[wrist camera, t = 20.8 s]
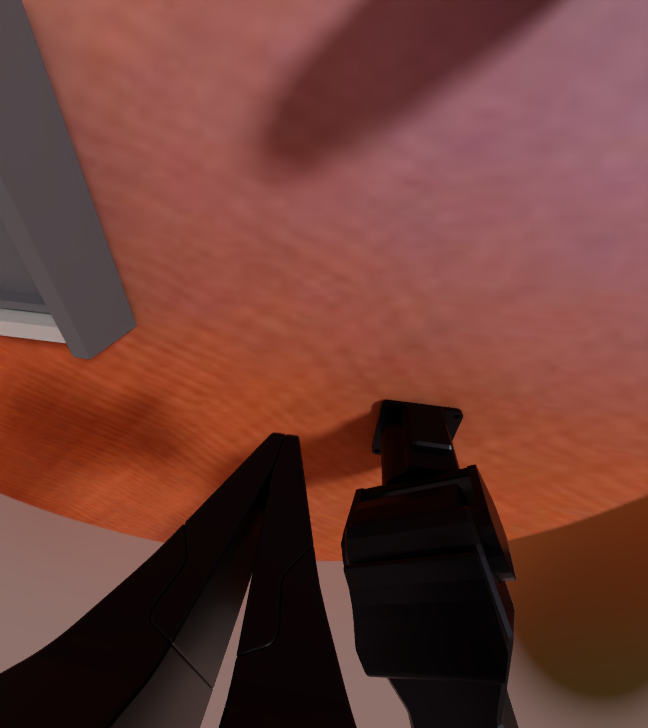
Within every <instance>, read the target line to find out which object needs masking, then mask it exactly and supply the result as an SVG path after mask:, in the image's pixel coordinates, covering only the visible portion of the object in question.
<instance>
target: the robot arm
mask: <svg viewBox="0 0 648 728" xmlns="http://www.w3.org/2000/svg"><path fill="white" fill-rule="evenodd" d="M386 405H389V406H388V407H387V406H386ZM455 414H458V415H455ZM462 418H463V414H462V411H461V410H460V409H456V408H449V407H441V406H433V405H425V404H417V403H410V402H402V401H394V400H384V401H383V402H382V404H381V408H380V413H379V417H378V421H377V426H376V430H375V435H374V439H373V444H372V452H373V453H374V454H378V455H381V464H382V486H377V487H372V488H368V489H364V488H361V489H357V490H356V492H355V496H354V499H353V502H352V506H351V509H350V512H349V516H348V519H347V522H346V525H345V529H344V532H343V537H342V541H341V548H342V557H343V564H344V573H345V577H346V580H347V583H348V587H349V591H350V597H351V603H352V610H353V620H354V633H355V647H356V652H357V654H358V657H359V659H360V662H361V664H362V666H363V669H364V671H365V673H366V675H367V676H369V677H385V678H387V679H388V680H389V682H390V684H391V685H392V687H393V689H394V690H395V692H396V693H397V695H398V697H399V698H400V700H401V701H402V703H403V705H404V706H405V708H406V710H407V712H408V715H409V719H410V724H411V728H518V725H517V721H516V718H515V715H514V712H513V708H512V705H511V702H510V699H509V695H508V692H507V682H508V676H509V669H510V662H511V655H512V649H513V639H514V620H515V610H514V605H513V602H512V600H511V597H510V594H509V591H508V588H507V585H506V582H505V581H512V580H516V576H515V572H514V567H513V563H512V558H511V554H510V550H509V546H508V541H507V537H506V534H505V531H504V529H503V526H502V523H501V521H500V518H499V515H498V513H497V510H496V507H495V505H494V502H493V500H492V498H491V496H490V494H489V491H488V489H487V487H486V485H485V483H484V481H483V479H482V477H481V475H480V472H479V470H478V468H477V466H476V464H475V465H470V466H467V468H463V469H460V468H459V465H458V461H457V457H456V454H455V450H454V447H453V443H452V440H453V438H454V436H455V434H456V431H457V429H458V427H459V425H460V423H461V420H462ZM251 576H252V578H251ZM250 579H251V584H250V589H249V594H248V599H247V605H246V609H245V615H244V620H243V625H242V630H241V635H240V640H239V646H238V651H237V658H236V661H235V666H234V671H233V676H232V680H231V685H230V689H229V693H228V698H227V701H226V705H225V708H224V711H223V715H222V718H221V722H220V725H219V728H357V727H356V724H355V721H354V718H353V714H352V711H351V708H350V704H349V700H348V697H347V693H346V689H345V685H344V682H343V678H342V674H341V670H340V667H339V662H338V658H337V654H336V650H335V646H334V642H333V639H332V635H331V631H330V627H329V623H328V619H327V616H326V611H325V607H324V602H323V598H322V594H321V589H320V584H319V578H318V572H317V566H316V559H315V551H314V547H313V537H312V530H311V522H310V515H309V507H308V500H307V492H306V485H305V477H304V470H303V462H302V455H301V447H300V440H299V436H296V435H289V434H287V435H285V434H282V433H272V434H270V435H269V436H268V437H267V439H266V440H265V441H264V442H263V443H262V444H261V445H260V446H259V447H258V448H257V449H256V450H255V451H254V452H253V453H252V454H251V455H250V456H249V457H248V458H247V459H246V460H245V461H244V462H243V463H242V464H241V465H240V466H239V467H238V468H237V469H236V470H235V472H234V473H233V474H232V475H231V476H230V477H229V478H228V479H227V480H226V481H225V482H224V483H223V484H222V485H221V486H220V487H219V488H218V489H217V490H216V491H215V492H214V493H213V494H212V495H211V496H210V497H209V498H208V499H207V500H206V501H205V502H204V503H203V504H202V506H201V507H200V508H199V509H198V510H197V511H196V512H195V513H194V514H193V515H192V516H191V517H190V518H189V519H188V520H187V521H186V522H185V525H182V526H181V527H180V528H179V529H178V530H177V531H176V532H175V533H174V534H173V535H172V536H171V537H170V538H169V539H168V540H167V541H166V542H165V543H164V544H163V545H162V546H161V547H160V548H159V549H158V550H157V551H156V552H155V553H154V554H153V555H152V556H151V557H150V558H149V559H148V560H147V561H145V562H144V563H143V564H142V565H141V566H140V567H139V568H138V569H137V570H136V571H134V572H133V573H132V574H131V575H130V576H129V577H128V578H126V579H125V580H124V581H123V582H122V583H121V584H120V585H118V586H117V587H116V588H115V589H114V590H113V591H112V592H110V593H109V594H108V595H107V596H106V597H105V598H104V599H102V600H101V601H100V602H99V603H98V604H97V605H95V607H93V608H92V609H91V610H90V611H89V612H88V613H86V614H85V615H84V616H83V617H82V618H81V619H80V620H78V621H77V622H76V623H75V624H74V625H73V626H71V627H70V628H69V629H68V630H67V631H65V632H64V633H63V634H62V635H60V636H59V637H58V638H57V639H55V640H54V641H52V642H51V643H50V644H48V645H47V646H45V647H44V648H43V649H41V650H39V651H38V652H36V653H35V654H33V655H31V656H30V657H28V658H26V659H25V660H23V661H21V662H20V663H18V664H16V665H14V666H12V667H11V668H9V669H7V670H5V671H3V672H2V673H0V728H200V726H201V723H202V720H203V717H204V714H205V711H206V708H207V705H208V703H209V700H210V696H211V694H212V690H213V689H212V688H213V687H214V685H215V682H216V678H217V676H218V673H219V670H220V667H221V664H222V661H223V658H224V655H225V652H226V649H227V646H228V643H229V640H230V637H231V635H232V632H233V628H234V625H235V623H236V620H237V617H238V614H239V611H240V608H241V605H242V602H243V599H244V596H245V593H246V590H247V587H248V584H249V582H250Z"/></svg>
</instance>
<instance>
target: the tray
mask: <svg viewBox="0 0 648 728" xmlns="http://www.w3.org/2000/svg"><path fill="white" fill-rule="evenodd" d="M0 308H8V309H17V310H26V311H34V312H43V313H50V314H51V315H52V317H53V319H54V321H55V323H56V325H57V327H58V329H59V331H60V332H61V334H62V336H63V338H64V340H65V342H66V344H67V346H68V348H69V349H70V351H71V353H72V355H73V357H77V358H85V359H91V358H93V357H94V356H96V355H97V354H98V353H100V352H101V351H103V350H104V349H105V348H107V347H108V346H110V345H111V344H112V343H114V342H115V341H117V340H118V339H119V338H121V337H122V336H123V335H125V334H126V333H128V332H129V331H130V330H132V329H133V328H135V327H136V323H135V320H134V317H133V314H132V311H131V309H130V306H129V303H128V300H127V297H126V294H125V292H124V289H123V286H122V283H121V280H120V278H119V275H118V272H117V269H116V266H115V263H114V261H113V258H112V255H111V252H110V249H109V246H108V244H107V241H106V238H105V235H104V232H103V229H102V227H101V224H100V221H99V218H98V215H97V213H96V210H95V207H94V204H93V201H92V198H91V196H90V193H89V190H88V187H87V184H86V181H85V179H84V176H83V173H82V170H81V167H80V164H79V162H78V159H77V156H76V153H75V150H74V148H73V145H72V142H71V139H70V136H69V133H68V131H67V128H66V125H65V122H64V119H63V116H62V114H61V111H60V108H59V105H58V102H57V99H56V97H55V94H54V91H53V88H52V85H51V83H50V80H49V77H48V74H47V71H46V68H45V66H44V63H43V60H42V57H41V54H40V51H39V49H38V46H37V43H36V40H35V37H34V34H33V32H32V29H31V26H30V23H29V20H28V18H27V15H26V12H25V9H24V6H23V3H22V1H21V0H0Z"/></svg>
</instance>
